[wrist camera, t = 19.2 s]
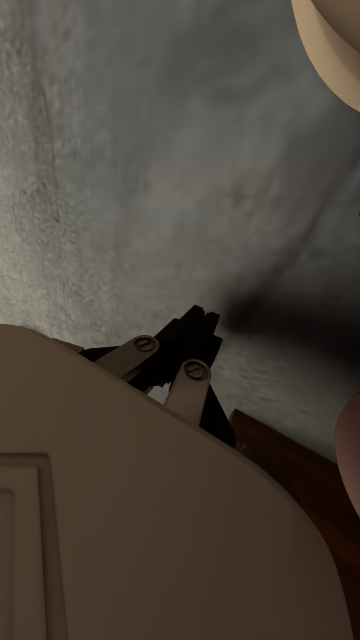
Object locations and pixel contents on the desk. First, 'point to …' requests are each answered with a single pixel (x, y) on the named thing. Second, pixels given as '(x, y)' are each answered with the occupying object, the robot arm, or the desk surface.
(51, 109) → the desk surface
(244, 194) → the desk surface
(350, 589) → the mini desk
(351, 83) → the vase
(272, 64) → the desk surface
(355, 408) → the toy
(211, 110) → the desk surface
